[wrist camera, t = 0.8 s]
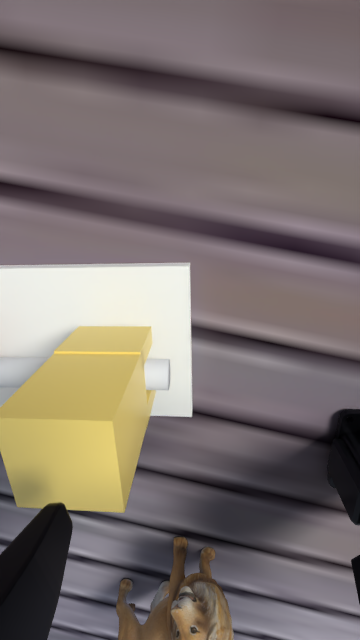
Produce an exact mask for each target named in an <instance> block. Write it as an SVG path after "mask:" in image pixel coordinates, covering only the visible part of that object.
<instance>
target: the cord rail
mask: <svg viewBox="0 0 360 640" xmlns="http://www.w3.org/2000/svg"><path fill="white" fill-rule="evenodd" d="M79 326H151V328H152V346H151V349H150V352H149V354H148V357H147V360H146V362H145V365H144V371H145V383H146V390H156V394H155V398H154V402H153V406H152V410H151V414H150V416H181V417H192V352H191V293H190V263H133V264H65V265H0V407H1V406H2V405H3V404H4V403H5V402H6V401H7V400H8V399H9V398H10V397H11V396H12V395H13V394H14V393H15V392H16V391H17V390H18V389H19V388H20V387H21V386H22V385H23V384H24V383H25V382H26V381H27V380H28V379H29V378H30V377H31V376H32V375H33V374H34V373H35V372H36V371H37V370H38V369H39V368H40V367H41V366H42V365H43V364H44V363H45V362H46V361H47V360H48V359H49V358H50V357H51V356H52V355H53V354H54V350H55V349H56V348H57V347H58V346H59V345H61V344H62V343H63V342H64V341H65V340H66V339H67V338H68V337H69V336H70V335H71V334H72V333H73V332H74V331H75V330H76V329H77V328H78V327H79Z"/></svg>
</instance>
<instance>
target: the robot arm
mask: <svg viewBox="0 0 360 640" xmlns="http://www.w3.org/2000/svg"><path fill="white" fill-rule="evenodd" d="M348 417H351V418H349V419H347V418H348ZM327 469H328V471H329V473H328V482H329V484H330V486H331V487H333V488H336V489H337V491H338V493H339V495H340V498H341V500H342V502H343V504H344V506H345V509H346V511H347V513H348V515H349V517H350V520H351V521H352V522H353V523H354V524H355V525H360V410H345V411H343V412H342V413H341V414H340V416H339V421H338V426H337V431H336V437H335V438H334V440H333V441H332V444H331V449H330V455H329V460H328V465H327ZM72 528H73V527H72V520H71V518H70V516H69V513H68V511H67V509H66V506H65V504H64V503H62V502H58V503H49V504H47V505H46V506H45V507H44V508H43V509H42V510H41V511H40V512H39V513H38V514H37V515H36V516H35V518H34V519H33V520H32V521H31V522H30V523H29V524H28V525H27V526H26V527H25V528H24V529H23V531H22V532H21V533H20V534H19V535H18V536H17V537H16V538H15V539H14V540H13V541H12V543H11V544H10V545H9V546H8V547H7V548H6V549H5V550H4V551H3V552H2V553H1V554H0V640H47V638H48V635H49V631H50V628H51V624H52V621H53V617H54V614H55V610H56V607H57V603H58V599H59V594H60V590H61V585H62V580H63V575H64V570H65V565H66V560H67V555H68V550H69V545H70V540H71V535H72ZM351 563H352V568H353V573H354V578H355V583H356V588H357V593H358V598H359V603H360V555H358V556H357V557H355V558H353V559H352V560H351Z"/></svg>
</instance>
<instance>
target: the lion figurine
mask: <svg viewBox="0 0 360 640" xmlns="http://www.w3.org/2000/svg"><path fill="white" fill-rule="evenodd" d="M187 545H188V542H187V539H186V538H185V537H175V538H174V548H173V554H174V561H173V567H172V572H171V576H170V581H164V582H163V583H161V585H160V587H159V589H158V592H157V594H156V595H155V597H154V599H153V601H152V603H151V613H150V615H149V617H148V619H147V621H146V623H145V624H144V625H140V623H139V622H138V620H137V618H136V616H135V614H134V611H135V604H132V603H131V604H130V603H129V604H127V603H126V597H127V594H128V592H129V591H130V590H131V589H132V587H133V583H132V581H131V580H129V579H123V580H122V581H121V583H120V588H119V596H118V601H117V605H116V612H117V615H118V617H119V635H118V640H233V638H234V634H233V630H232V619H231V616H230V612H229V607H228V602H227V600H226V598H225V596H224V594H223V591H222V588H221V587H220V586H219V585H218V584H217V582H216V581H215V580H214V579H212V576H211V569H210V565H209V562H210V561H211V560H213V559H214V558H215V551H214V549H213V548H210V547H205V548H204V549H202V551H201V554H200V563H199V568H200V573H194V574H191V575H189V576H188V577H187V578H185V574H184V564H185V558H186V553H187V550H186V548H187ZM168 593H169V597H167V598H165V599H164V597H165V596H166V594H168Z"/></svg>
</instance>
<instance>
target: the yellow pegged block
mask: <svg viewBox="0 0 360 640" xmlns="http://www.w3.org/2000/svg"><path fill="white" fill-rule="evenodd" d="M151 346H152V328H151V326H79V327H78V328H77V329H76V330H75V331H74V332H73V333H72V334H71V335H70V336H69V337H68V338H67V339H66V340H65V341H64V342H63V343H62V344H61V345H59V346H58V347H57V348H56V349H55V350H54V354H53V355H52V356H51V357H50V358H49V359H48V360H47V361H46V362H45V363H44V364H43V365H42V366H41V367H40V368H39V369H38V370H37V371H36V372H35V373H34V374H33V375H32V376H31V377H30V378H29V379H28V380H27V381H26V382H25V383H24V384H23V385H22V386H21V387H20V388H19V389H18V390H17V391H16V392H15V393H14V394H13V395H12V396H11V397H10V398H9V399H8V400H7V401H6V402H5V403H4V404H3V405H2V406H1V407H0V452H1V455H2V458H3V462H4V465H5V468H6V472H7V475H8V478H9V481H10V485H11V488H12V491H13V495H14V498H15V501H16V504H17V507H24V508H44V507H45V506H46V505H47V504H49V503H58V502H62V503H64V504H65V506H66V509H67V510H83V511H102V512H121V513H125V509H126V505H127V501H128V497H129V493H130V489H131V485H132V482H133V478H134V474H135V470H136V466H137V462H138V458H139V454H140V451H141V447H142V443H143V439H144V435H145V431H146V428H147V426H148V422H149V418H150V414H151V410H152V406H153V402H154V398H155V394H156V390H146V383H145V371H144V365H145V362H146V360H147V357H148V354H149V352H150V349H151Z"/></svg>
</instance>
